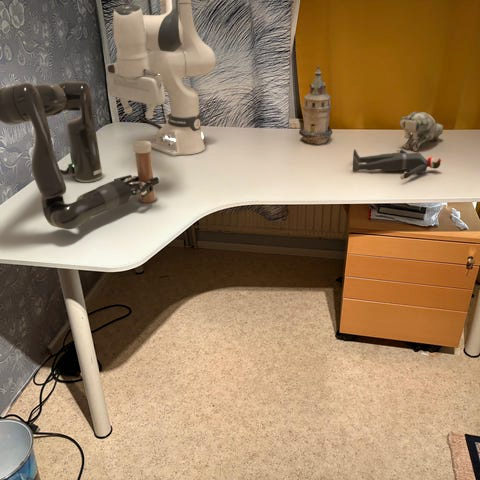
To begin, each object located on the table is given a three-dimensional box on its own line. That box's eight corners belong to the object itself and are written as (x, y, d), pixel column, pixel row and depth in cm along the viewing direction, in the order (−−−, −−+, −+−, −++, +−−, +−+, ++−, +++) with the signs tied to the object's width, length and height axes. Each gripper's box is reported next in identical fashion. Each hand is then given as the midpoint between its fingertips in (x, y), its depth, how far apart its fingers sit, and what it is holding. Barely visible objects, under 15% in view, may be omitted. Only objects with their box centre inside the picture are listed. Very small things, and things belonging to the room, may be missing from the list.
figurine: (429, 162, 206) (454, 135, 215) (417, 119, 197) (443, 93, 206) (407, 162, 213) (432, 135, 222) (394, 121, 204) (421, 95, 213)
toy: (354, 141, 202) (437, 142, 196) (353, 157, 206) (435, 158, 199) (352, 166, 180) (446, 168, 174) (351, 183, 183) (444, 186, 177)
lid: (150, 153, 162) (150, 146, 161) (132, 153, 162) (132, 146, 161) (152, 147, 167) (151, 140, 166) (134, 147, 167) (134, 140, 165)
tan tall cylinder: (154, 202, 171) (149, 147, 162) (140, 203, 170) (133, 147, 161) (155, 196, 175) (150, 142, 166) (141, 196, 174) (135, 142, 165)
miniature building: (320, 132, 228) (325, 59, 214) (338, 142, 217) (344, 66, 203) (293, 137, 224) (296, 63, 209) (310, 147, 213) (314, 69, 198)
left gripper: (124, 190, 154) (167, 172, 165) (93, 178, 162) (136, 162, 173) (127, 213, 158) (169, 194, 169) (96, 201, 165) (138, 183, 177)
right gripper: (168, 70, 149) (171, 118, 156) (117, 62, 160) (123, 107, 167) (152, 74, 145) (156, 124, 151) (101, 65, 155) (107, 112, 162)
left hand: (152, 178), depth 171 cm, fingers closed on tan tall cylinder, 4 cm apart
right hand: (138, 115), depth 159 cm, fingers open, 7 cm apart
